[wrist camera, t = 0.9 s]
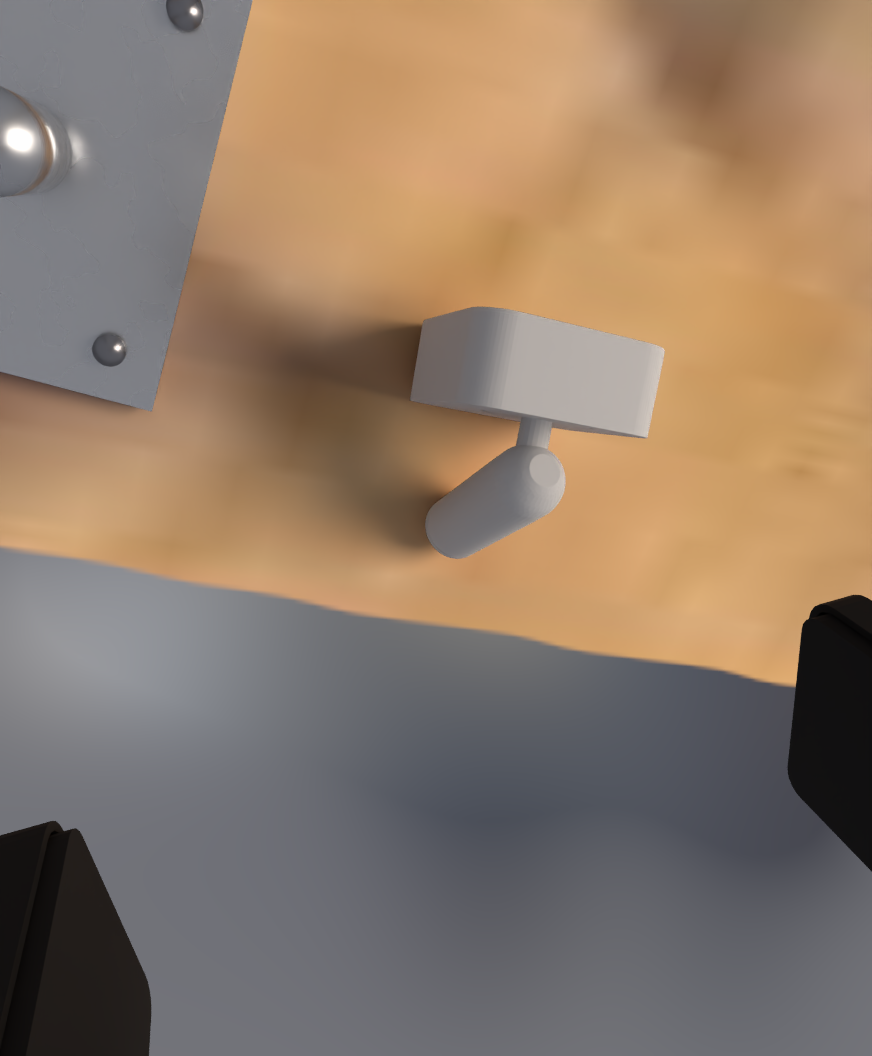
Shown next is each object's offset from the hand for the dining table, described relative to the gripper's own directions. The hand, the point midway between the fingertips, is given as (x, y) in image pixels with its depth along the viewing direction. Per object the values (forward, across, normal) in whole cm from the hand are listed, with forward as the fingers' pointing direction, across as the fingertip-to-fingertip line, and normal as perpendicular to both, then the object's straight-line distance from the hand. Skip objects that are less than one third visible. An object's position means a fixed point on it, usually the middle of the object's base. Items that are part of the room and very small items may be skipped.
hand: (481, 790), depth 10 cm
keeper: (+26, +7, -9) cm, 29 cm away
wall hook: (+27, -8, +5) cm, 28 cm away
